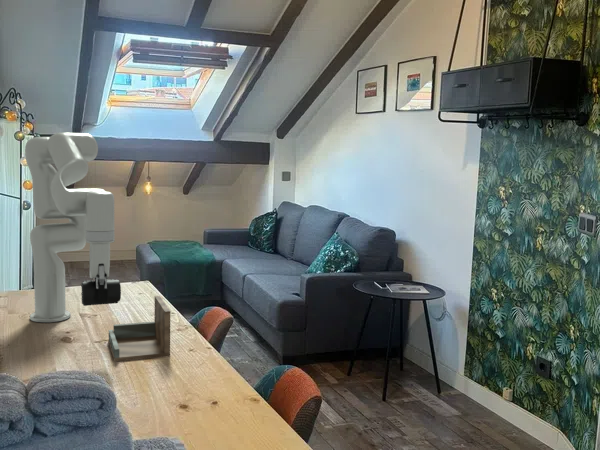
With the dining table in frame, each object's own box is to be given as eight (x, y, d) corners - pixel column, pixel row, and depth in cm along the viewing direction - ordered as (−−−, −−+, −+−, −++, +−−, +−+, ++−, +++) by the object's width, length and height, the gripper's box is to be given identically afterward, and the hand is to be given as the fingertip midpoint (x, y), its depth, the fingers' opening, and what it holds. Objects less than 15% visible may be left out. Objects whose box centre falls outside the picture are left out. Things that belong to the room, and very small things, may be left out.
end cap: (83, 309, 165) (82, 284, 164) (80, 302, 172) (79, 278, 171) (121, 305, 170) (121, 282, 169) (116, 299, 176) (116, 276, 175)
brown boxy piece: (108, 341, 184) (108, 298, 182) (159, 336, 189) (159, 295, 188) (114, 361, 167) (114, 315, 166) (170, 356, 173) (170, 311, 171)
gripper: (84, 232, 175) (85, 292, 177) (86, 241, 159) (87, 308, 161) (112, 231, 178) (112, 291, 180) (116, 241, 161) (116, 306, 164)
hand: (100, 298), depth 171 cm, fingers closed on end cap, 7 cm apart
